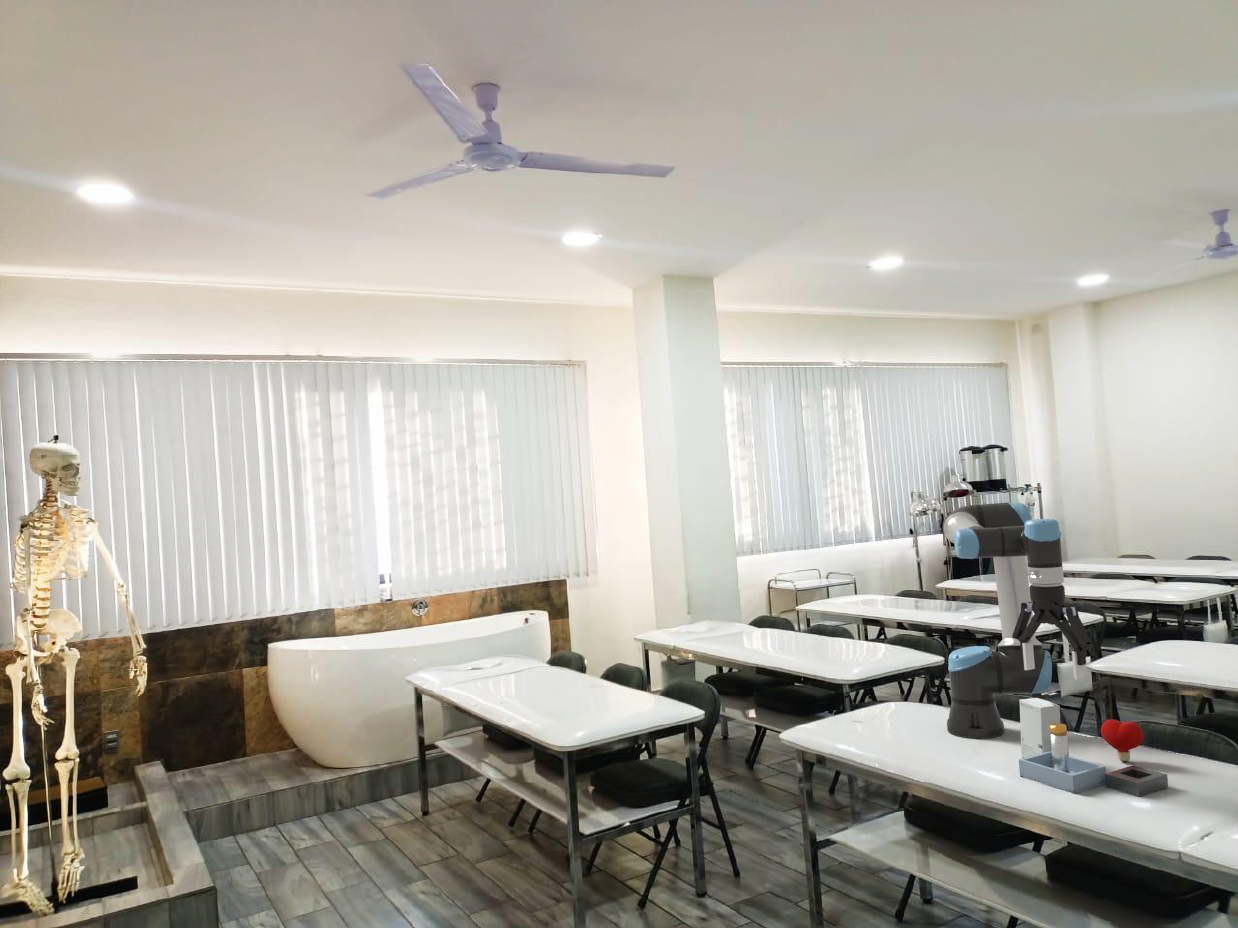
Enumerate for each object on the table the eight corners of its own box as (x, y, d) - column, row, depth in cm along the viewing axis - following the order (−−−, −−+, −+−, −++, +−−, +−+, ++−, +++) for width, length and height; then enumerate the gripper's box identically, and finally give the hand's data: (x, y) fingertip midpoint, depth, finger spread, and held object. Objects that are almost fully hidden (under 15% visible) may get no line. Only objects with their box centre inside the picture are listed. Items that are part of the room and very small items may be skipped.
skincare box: (1021, 757, 224) (1016, 699, 224) (1041, 754, 225) (1036, 696, 226) (1044, 767, 216) (1039, 706, 216) (1065, 763, 217) (1060, 703, 218)
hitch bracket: (1105, 786, 200) (1104, 773, 200) (1134, 777, 204) (1133, 765, 204) (1139, 796, 193) (1138, 783, 193) (1168, 787, 197) (1167, 774, 197)
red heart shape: (1099, 762, 216) (1095, 721, 217) (1108, 754, 221) (1104, 715, 222) (1141, 769, 210) (1137, 727, 210) (1149, 761, 215) (1146, 720, 215)
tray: (1020, 776, 211) (1018, 759, 211) (1052, 767, 215) (1050, 750, 215) (1073, 793, 197) (1072, 775, 197) (1107, 783, 202) (1105, 766, 202)
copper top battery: (1050, 775, 207) (1045, 724, 208) (1060, 772, 209) (1056, 722, 209) (1063, 779, 204) (1059, 728, 204) (1074, 776, 205) (1069, 725, 206)
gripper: (992, 582, 218) (999, 667, 217) (1082, 590, 195) (1090, 685, 195) (1014, 579, 221) (1021, 663, 220) (1105, 586, 198) (1113, 680, 198)
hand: (1053, 674), depth 207 cm, fingers open, 13 cm apart
